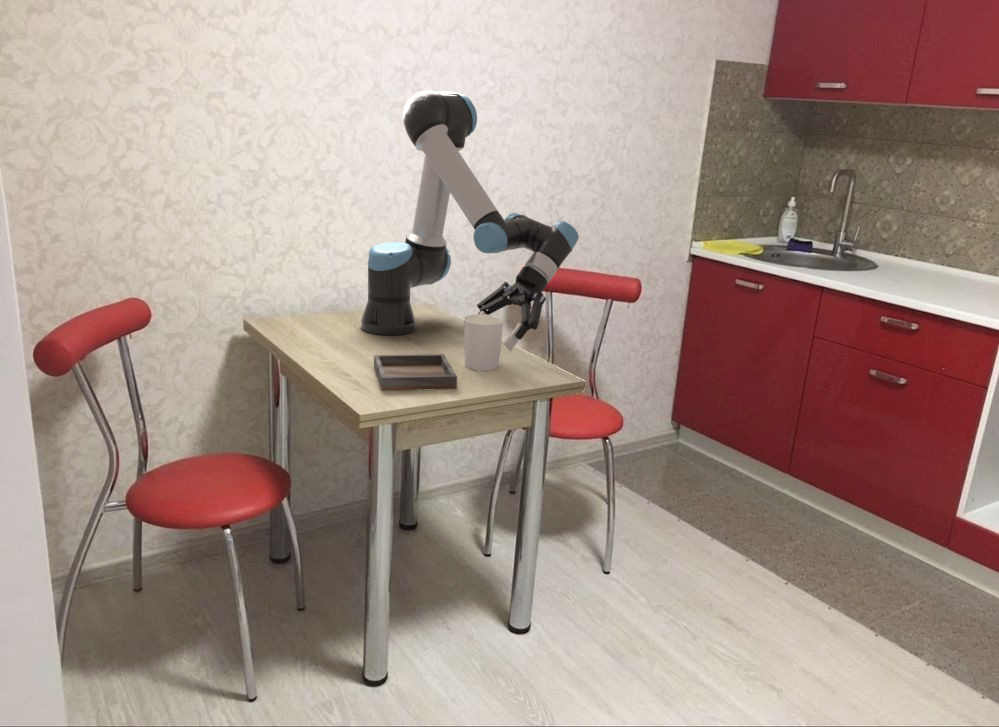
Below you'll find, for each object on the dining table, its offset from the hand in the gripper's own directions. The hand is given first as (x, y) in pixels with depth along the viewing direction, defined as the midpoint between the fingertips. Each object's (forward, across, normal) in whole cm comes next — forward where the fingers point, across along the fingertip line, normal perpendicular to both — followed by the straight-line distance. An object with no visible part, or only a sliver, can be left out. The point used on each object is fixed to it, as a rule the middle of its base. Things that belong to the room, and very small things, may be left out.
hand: (488, 340), depth 210 cm
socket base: (+19, +3, +10) cm, 22 cm away
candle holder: (+6, +1, -4) cm, 7 cm away
